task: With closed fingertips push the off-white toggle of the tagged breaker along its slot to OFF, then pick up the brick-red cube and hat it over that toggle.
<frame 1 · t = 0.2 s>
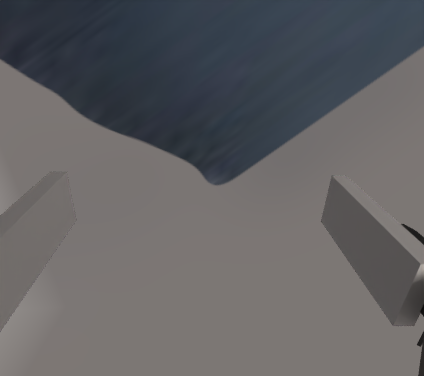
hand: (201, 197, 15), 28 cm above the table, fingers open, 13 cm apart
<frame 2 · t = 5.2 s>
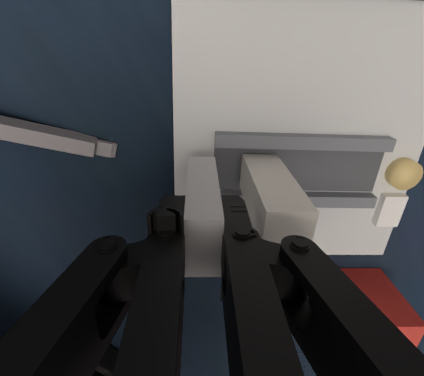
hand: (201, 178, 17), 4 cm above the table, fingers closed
breaker B: (270, 195, 16), point 6 cm above the table, slide at 0.9 cm, touching gripper
brick-red cube: (340, 292, 27), on the table
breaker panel: (303, 68, 18), on the table
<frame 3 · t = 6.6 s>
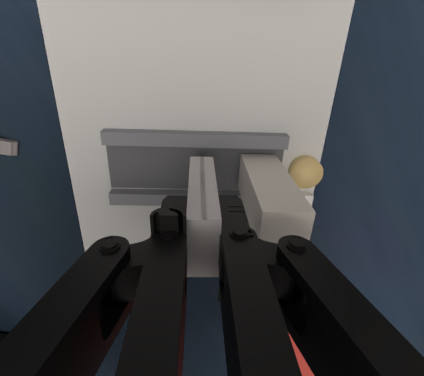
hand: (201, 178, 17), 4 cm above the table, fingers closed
breaker B: (268, 196, 16), point 6 cm above the table, slide at 7.4 cm, touching gripper
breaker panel: (197, 64, 18), on the table
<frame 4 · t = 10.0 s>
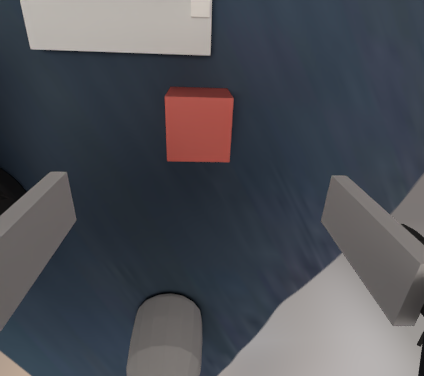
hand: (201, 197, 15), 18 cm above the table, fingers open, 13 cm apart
soap bottle: (169, 312, 45), on the table
brick-red cube: (198, 115, 31), on the table
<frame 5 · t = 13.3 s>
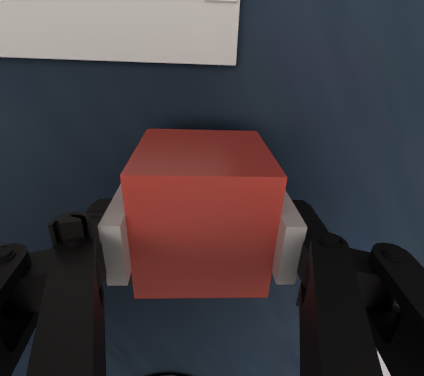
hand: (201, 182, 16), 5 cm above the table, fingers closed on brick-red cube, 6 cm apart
brick-red cube: (201, 179, 17), point 5 cm above the table, touching gripper
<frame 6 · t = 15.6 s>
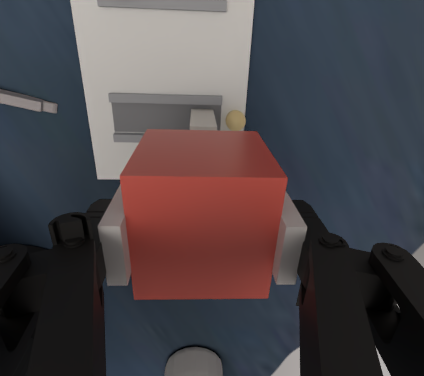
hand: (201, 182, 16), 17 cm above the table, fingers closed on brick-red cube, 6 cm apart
breaker B: (202, 128, 27), point 6 cm above the table, slide at 7.0 cm
soap bottle: (194, 361, 51), on the table
brick-red cube: (201, 179, 17), point 17 cm above the table, touching gripper
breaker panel: (167, 53, 29), on the table
when the fingers open (4 cm above the table, at t = 18.2 s): brick-red cube stays where it is, resting on breaker B.
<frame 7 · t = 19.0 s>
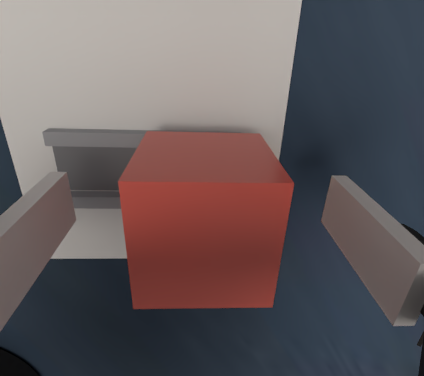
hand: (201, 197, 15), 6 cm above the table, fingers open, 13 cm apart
brick-red cube: (202, 183, 16), point 4 cm above the table, touching breaker B
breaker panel: (147, 60, 17), on the table
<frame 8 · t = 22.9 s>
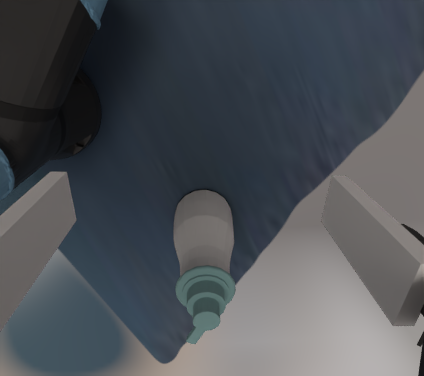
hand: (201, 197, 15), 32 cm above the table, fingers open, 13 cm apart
soap bottle: (203, 211, 52), on the table
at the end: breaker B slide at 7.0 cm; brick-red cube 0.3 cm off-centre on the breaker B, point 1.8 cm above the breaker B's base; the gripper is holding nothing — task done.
